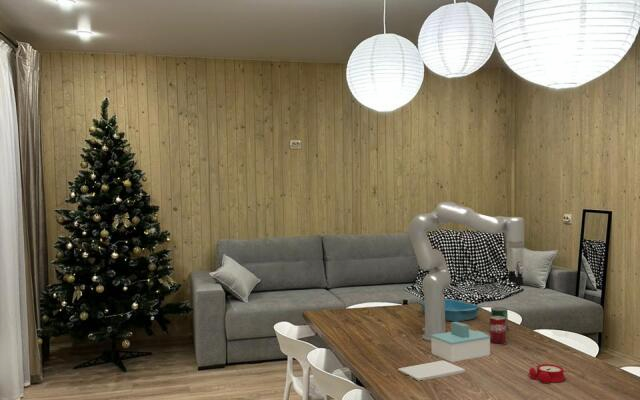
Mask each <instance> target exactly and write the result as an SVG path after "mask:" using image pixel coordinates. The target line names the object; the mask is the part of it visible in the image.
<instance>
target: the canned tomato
mask: <svg viewBox="0 0 640 400" xmlns="http://www.w3.org/2000/svg"><path fill="white" fill-rule="evenodd" d="M508 314H509V313H508V308H506V307H502V306H493V307H490V317H492V316H502V317H505V318H506V333H507V332H509V321H508V319H509V318H508Z"/></svg>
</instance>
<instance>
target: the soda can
mask: <svg viewBox="0 0 640 400" xmlns="http://www.w3.org/2000/svg"><path fill="white" fill-rule="evenodd" d="M489 336H490V345H491V344H492V345H497V346H504V345H506V344H507V342H508V341H507V340H508V339H507V338H508V337H507V332H506V318H505V317H502V316H492V317H491V316H490V317H489Z"/></svg>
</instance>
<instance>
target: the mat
mask: <svg viewBox="0 0 640 400" xmlns="http://www.w3.org/2000/svg"><path fill="white" fill-rule="evenodd" d="M398 370H399V371H401V372H403V373H405V374H407V375H409V376H411V377H412V378H411V377H410V378H411V379H413V378H414V379H416V380H418V381H417V382H421V381H420V380H423V381H427V379H428V380H431V379H437V378H442V377H448V376H453V375H457V374H463V373H466V369H465V368H462V367H460V366H458V365H455V364H453V363H452V362H450V361H447V360H445V359H444V360H443V359H442V360H437V361H432V362H428V363H421V364H416V365H410V366H405V367H400V368H397V371H398ZM399 371H398V372H399ZM401 372H400V373H401ZM403 373H402V374H403ZM405 374H404V375H405ZM407 375H406V376H407ZM409 376H408V377H409ZM414 379H413V380H414ZM416 380H415V381H416Z"/></svg>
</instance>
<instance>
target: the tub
mask: <svg viewBox="0 0 640 400" xmlns="http://www.w3.org/2000/svg"><path fill="white" fill-rule="evenodd" d="M430 342H431V343H430V344H431V347H430V348H431V355H435V356H436V357H439V358H441V359H442V360H443V359H444V360H445V361H447V362H449V363H454V362H460V361H465V360H466V361H467V360H470V359H476V358H480V357H481V358H482V357H486V356H490V355H491V343H490V338H488V339H482V340H476V341H470V342H464V343H458V344H452V345H451V344H448V343H446V342H443V341H440V340H438V339H435V338H432V337H431V341H430Z"/></svg>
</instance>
